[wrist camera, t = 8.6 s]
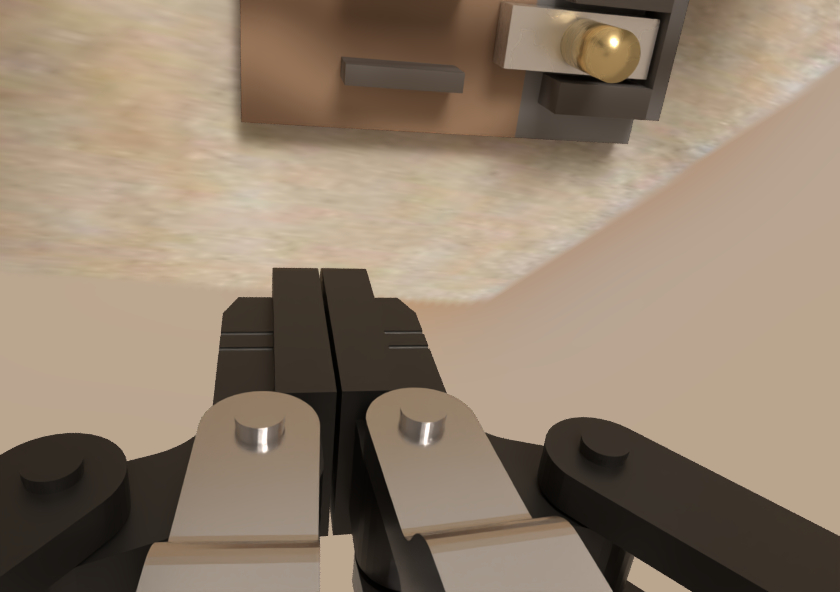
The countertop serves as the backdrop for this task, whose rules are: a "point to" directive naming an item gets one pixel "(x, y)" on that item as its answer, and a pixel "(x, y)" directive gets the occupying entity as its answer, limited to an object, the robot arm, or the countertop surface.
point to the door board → (435, 70)
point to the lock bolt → (575, 41)
